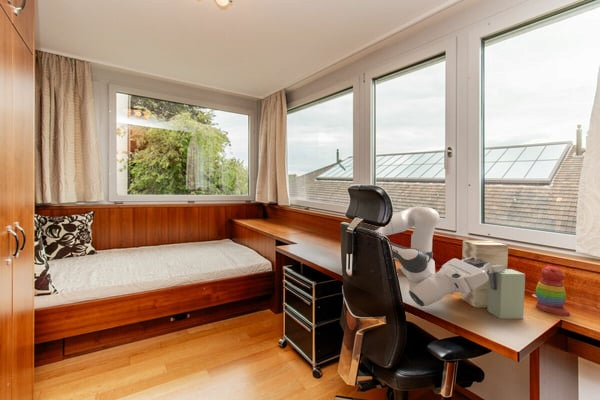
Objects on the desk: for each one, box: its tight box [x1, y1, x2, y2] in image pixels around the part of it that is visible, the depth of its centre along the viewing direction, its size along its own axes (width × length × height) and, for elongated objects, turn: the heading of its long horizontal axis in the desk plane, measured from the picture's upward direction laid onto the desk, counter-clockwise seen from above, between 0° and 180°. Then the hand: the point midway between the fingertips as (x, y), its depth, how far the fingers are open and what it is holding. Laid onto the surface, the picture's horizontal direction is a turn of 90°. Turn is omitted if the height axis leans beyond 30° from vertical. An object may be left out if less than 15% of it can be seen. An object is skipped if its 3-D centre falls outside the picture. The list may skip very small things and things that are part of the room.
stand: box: [460, 240, 509, 308], centre depth 125 cm, size 10×13×26 cm
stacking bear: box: [535, 264, 571, 317], centre depth 119 cm, size 11×10×18 cm
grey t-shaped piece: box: [467, 259, 505, 290], centre depth 113 cm, size 5×12×12 cm, turn 92°
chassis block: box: [487, 268, 526, 320], centre depth 113 cm, size 7×9×17 cm
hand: (481, 261), depth 112 cm, fingers open, 8 cm apart
